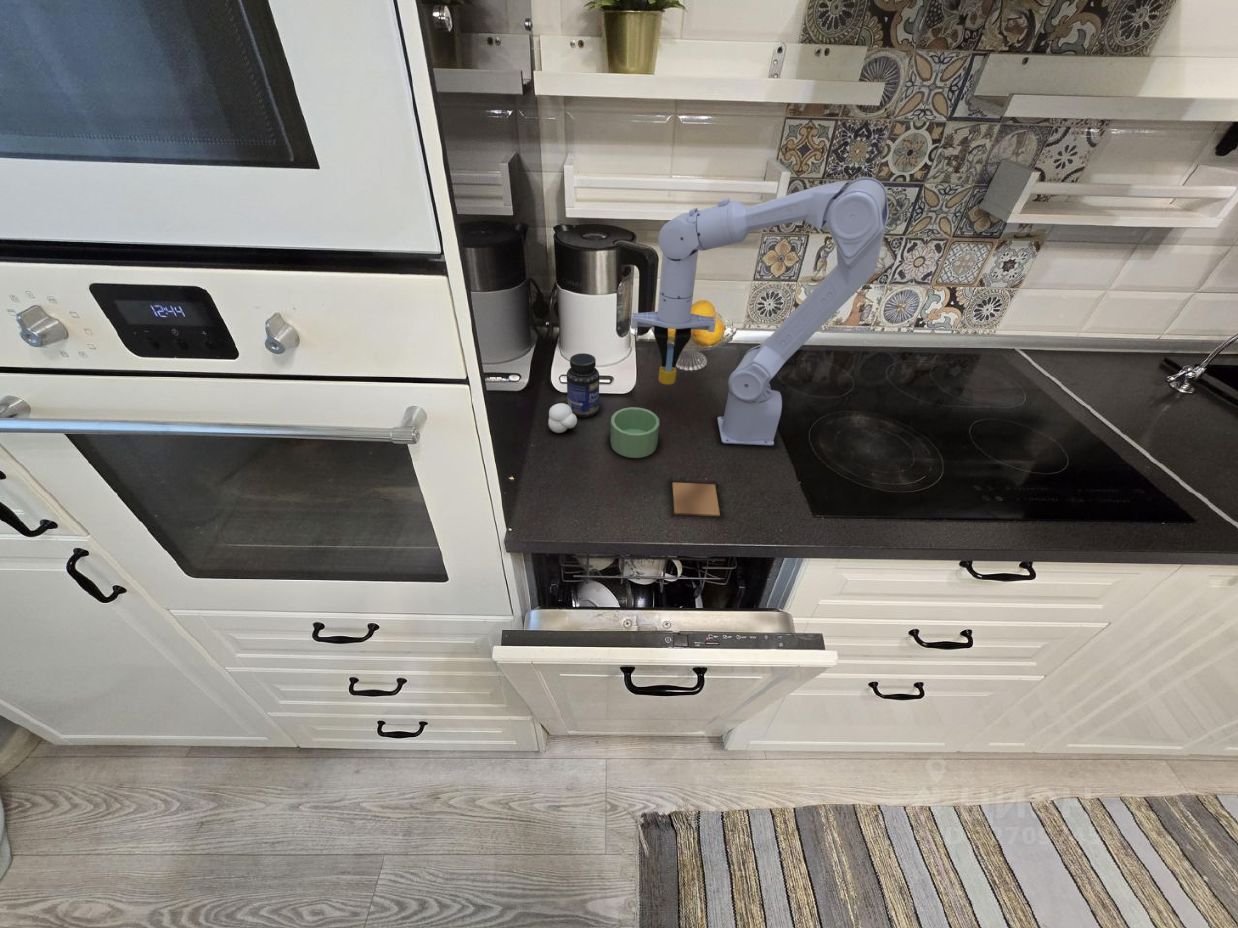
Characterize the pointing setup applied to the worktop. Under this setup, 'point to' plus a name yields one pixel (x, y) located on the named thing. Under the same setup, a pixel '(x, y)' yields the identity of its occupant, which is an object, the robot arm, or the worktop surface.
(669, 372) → the brush
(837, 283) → the robot arm
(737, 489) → the worktop surface
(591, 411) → the pill bottle
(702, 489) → the mat
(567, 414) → the microfossil shell
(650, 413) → the green round open container
